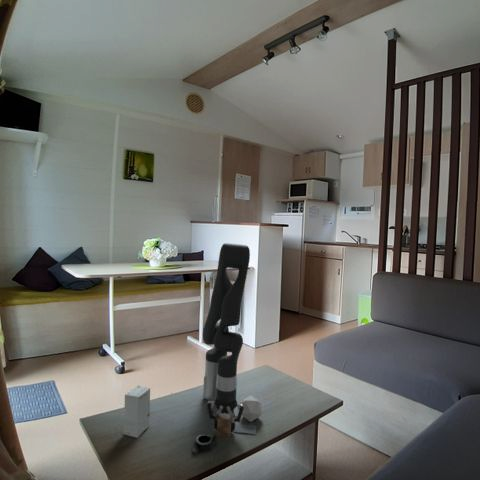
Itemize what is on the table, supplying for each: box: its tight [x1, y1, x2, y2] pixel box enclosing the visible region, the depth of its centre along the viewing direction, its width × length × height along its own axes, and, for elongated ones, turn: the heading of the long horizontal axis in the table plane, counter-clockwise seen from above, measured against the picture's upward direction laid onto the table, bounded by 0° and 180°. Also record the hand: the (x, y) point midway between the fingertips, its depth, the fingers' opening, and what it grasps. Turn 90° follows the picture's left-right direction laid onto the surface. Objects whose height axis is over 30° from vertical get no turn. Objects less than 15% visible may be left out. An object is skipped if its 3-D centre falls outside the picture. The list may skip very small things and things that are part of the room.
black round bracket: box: [191, 433, 217, 454], centre depth 121 cm, size 8×10×3 cm
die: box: [239, 394, 263, 423], centre depth 139 cm, size 8×9×10 cm
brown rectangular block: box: [216, 413, 232, 437], centre depth 129 cm, size 5×4×6 cm
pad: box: [233, 423, 257, 435], centre depth 131 cm, size 8×5×1 cm, turn 85°
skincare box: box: [123, 385, 151, 439], centre depth 128 cm, size 8×6×15 cm
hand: (224, 430), depth 129 cm, fingers closed on brown rectangular block, 5 cm apart
